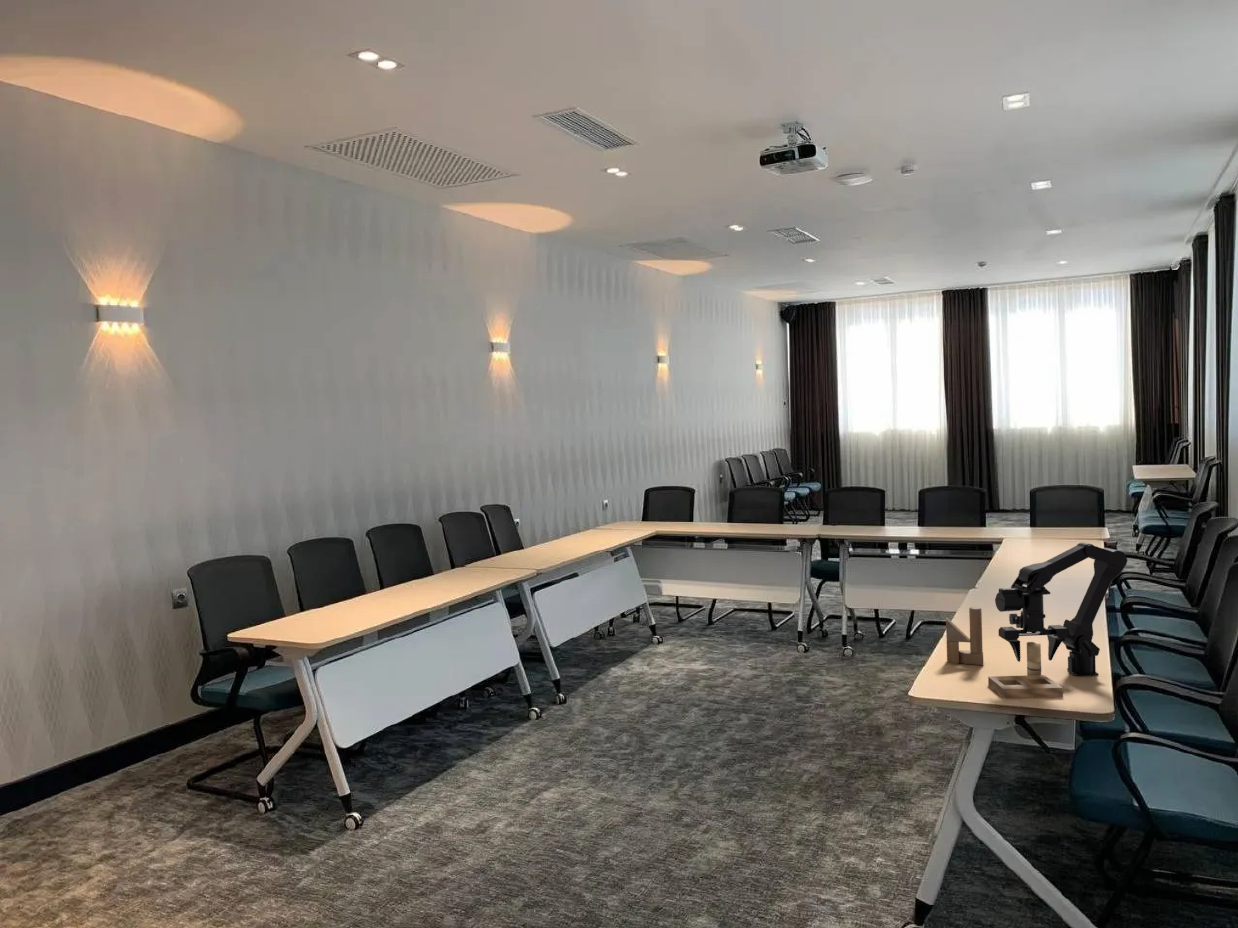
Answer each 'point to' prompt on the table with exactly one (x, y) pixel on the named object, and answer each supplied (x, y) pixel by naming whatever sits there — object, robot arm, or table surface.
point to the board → (1025, 686)
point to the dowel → (1033, 658)
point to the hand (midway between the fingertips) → (1034, 660)
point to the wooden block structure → (965, 640)
